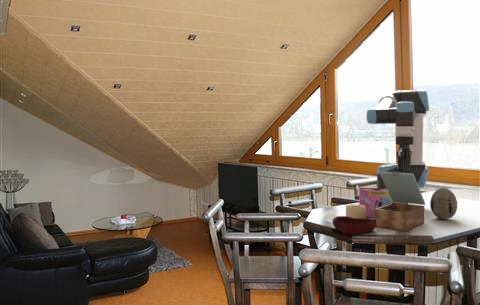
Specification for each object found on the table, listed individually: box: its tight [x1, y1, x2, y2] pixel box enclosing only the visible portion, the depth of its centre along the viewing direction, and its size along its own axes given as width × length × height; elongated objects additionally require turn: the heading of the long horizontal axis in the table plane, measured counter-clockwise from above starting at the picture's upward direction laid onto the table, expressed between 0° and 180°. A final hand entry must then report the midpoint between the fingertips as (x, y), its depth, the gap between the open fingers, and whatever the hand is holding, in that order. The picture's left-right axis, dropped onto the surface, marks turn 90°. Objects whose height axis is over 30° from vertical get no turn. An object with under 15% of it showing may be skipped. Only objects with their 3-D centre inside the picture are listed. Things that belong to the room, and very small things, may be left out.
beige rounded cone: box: [345, 203, 366, 218], centre depth 202 cm, size 9×9×7 cm
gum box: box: [358, 187, 409, 218], centre depth 212 cm, size 24×8×14 cm, turn 75°
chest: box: [374, 203, 425, 233], centre depth 191 cm, size 14×22×8 cm, turn 139°
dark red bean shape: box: [332, 215, 377, 236], centre depth 180 cm, size 18×16×5 cm
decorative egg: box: [429, 187, 458, 220], centre depth 203 cm, size 12×12×15 cm
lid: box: [379, 171, 426, 206], centre depth 192 cm, size 15×23×2 cm
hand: (403, 187), depth 194 cm, fingers closed
